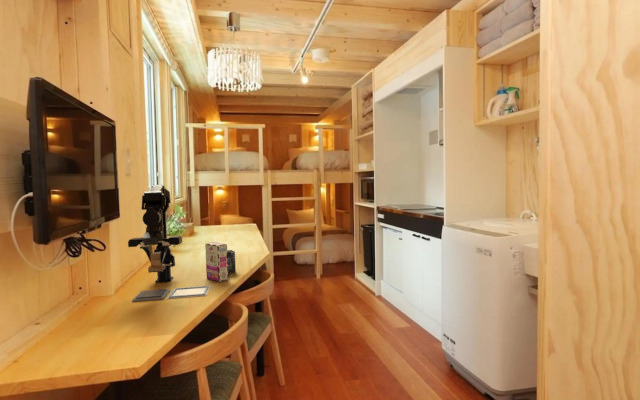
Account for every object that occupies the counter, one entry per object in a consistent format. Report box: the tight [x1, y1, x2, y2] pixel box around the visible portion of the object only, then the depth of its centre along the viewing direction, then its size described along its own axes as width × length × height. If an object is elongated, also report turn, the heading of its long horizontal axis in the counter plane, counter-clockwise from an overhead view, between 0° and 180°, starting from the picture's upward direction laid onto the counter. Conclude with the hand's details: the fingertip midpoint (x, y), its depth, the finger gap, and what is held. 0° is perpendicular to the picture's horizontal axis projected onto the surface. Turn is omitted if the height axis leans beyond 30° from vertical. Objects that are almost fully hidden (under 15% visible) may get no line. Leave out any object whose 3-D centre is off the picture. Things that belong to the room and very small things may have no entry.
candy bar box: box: [205, 241, 229, 283], centre depth 165 cm, size 11×5×16 cm, turn 47°
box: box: [227, 249, 237, 275], centre depth 177 cm, size 8×6×11 cm
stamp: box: [147, 251, 166, 273], centre depth 143 cm, size 5×5×7 cm
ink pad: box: [131, 288, 171, 303], centre depth 143 cm, size 11×11×1 cm
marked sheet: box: [166, 285, 211, 300], centre depth 147 cm, size 12×14×1 cm
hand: (156, 263), depth 143 cm, fingers closed on stamp, 3 cm apart
